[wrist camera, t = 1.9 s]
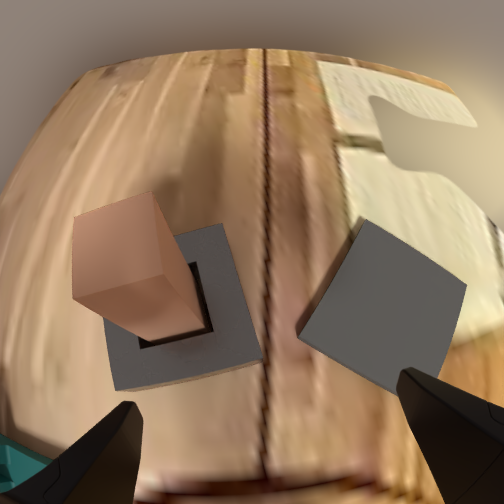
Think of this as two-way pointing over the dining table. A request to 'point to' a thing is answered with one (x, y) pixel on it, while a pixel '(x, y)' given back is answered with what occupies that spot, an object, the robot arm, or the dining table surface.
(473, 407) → the robot arm
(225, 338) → the socket block
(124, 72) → the dining table surface
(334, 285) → the mat
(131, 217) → the peg
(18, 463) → the bracket
